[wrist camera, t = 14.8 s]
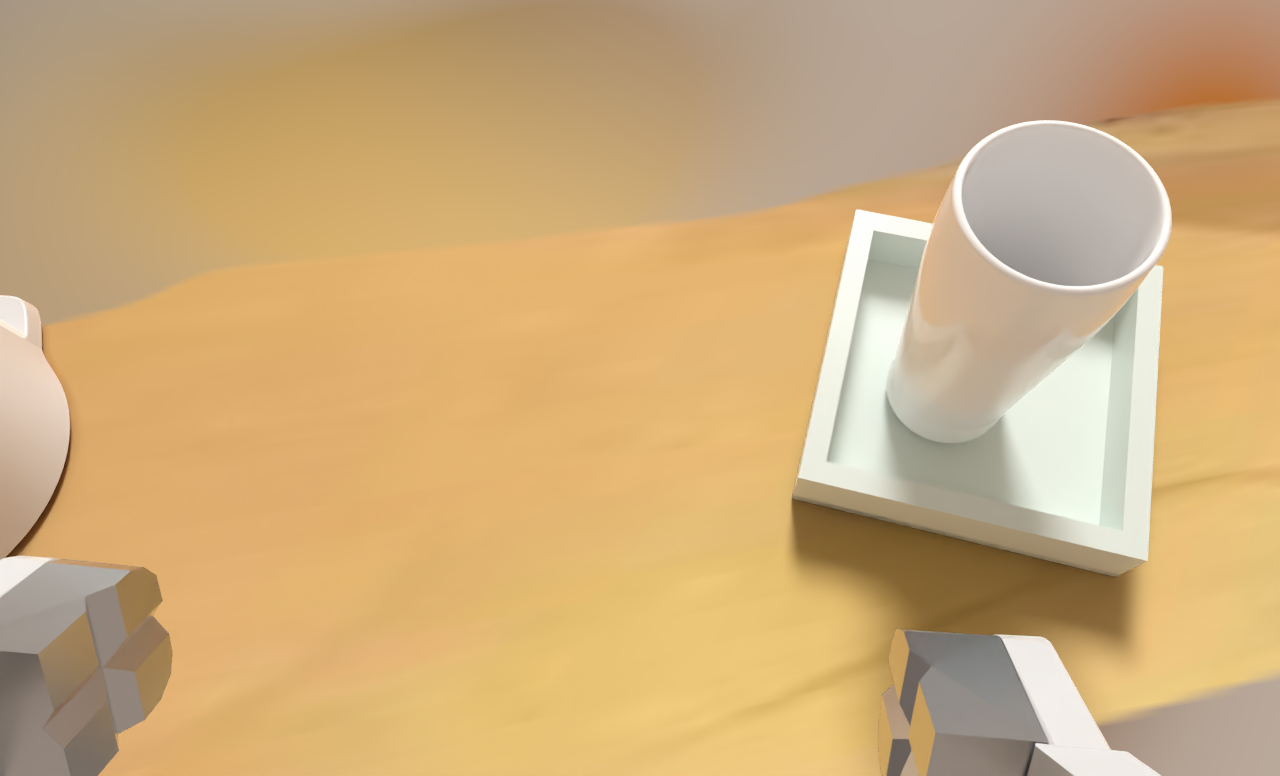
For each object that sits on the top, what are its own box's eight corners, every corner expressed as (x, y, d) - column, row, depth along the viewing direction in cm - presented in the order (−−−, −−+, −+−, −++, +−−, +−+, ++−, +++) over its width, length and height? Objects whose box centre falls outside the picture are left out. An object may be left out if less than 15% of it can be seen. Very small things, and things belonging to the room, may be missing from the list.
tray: (791, 498, 40) (798, 477, 38) (846, 243, 46) (856, 209, 43) (1115, 576, 38) (1147, 560, 35) (1133, 299, 43) (1163, 266, 40)
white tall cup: (850, 345, 43) (921, 137, 29) (987, 317, 43) (1123, 98, 29) (892, 476, 40) (994, 315, 26) (1039, 447, 40) (1216, 271, 26)
